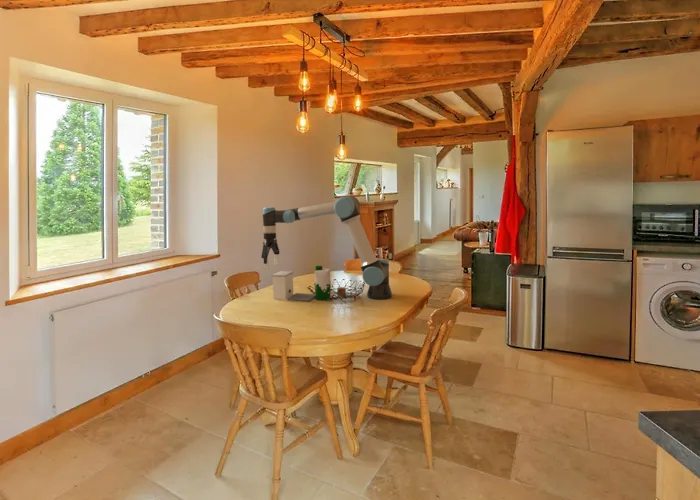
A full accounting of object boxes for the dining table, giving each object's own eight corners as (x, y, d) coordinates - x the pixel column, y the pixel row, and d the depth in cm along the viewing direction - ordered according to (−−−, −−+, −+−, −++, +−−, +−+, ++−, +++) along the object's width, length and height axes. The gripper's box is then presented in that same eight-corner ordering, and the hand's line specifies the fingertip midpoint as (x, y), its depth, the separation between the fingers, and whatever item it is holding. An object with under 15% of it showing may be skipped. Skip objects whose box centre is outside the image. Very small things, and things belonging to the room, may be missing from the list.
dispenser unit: (294, 294, 276) (293, 271, 274) (286, 299, 264) (285, 275, 262) (281, 294, 279) (280, 270, 276) (272, 299, 267) (271, 274, 264)
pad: (317, 295, 273) (317, 294, 273) (309, 301, 259) (309, 300, 259) (296, 294, 277) (296, 293, 276) (287, 300, 263) (287, 298, 263)
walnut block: (345, 295, 274) (345, 287, 273) (345, 297, 269) (345, 289, 268) (337, 295, 274) (337, 287, 273) (337, 297, 269) (337, 289, 268)
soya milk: (317, 296, 271) (317, 264, 268) (332, 297, 269) (331, 265, 266) (313, 300, 262) (313, 267, 259) (328, 301, 260) (327, 267, 257)
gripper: (273, 230, 280) (274, 262, 283) (254, 234, 256) (256, 270, 260) (283, 230, 278) (285, 263, 281) (266, 235, 254) (267, 270, 258)
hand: (271, 266), depth 271 cm, fingers open, 13 cm apart
